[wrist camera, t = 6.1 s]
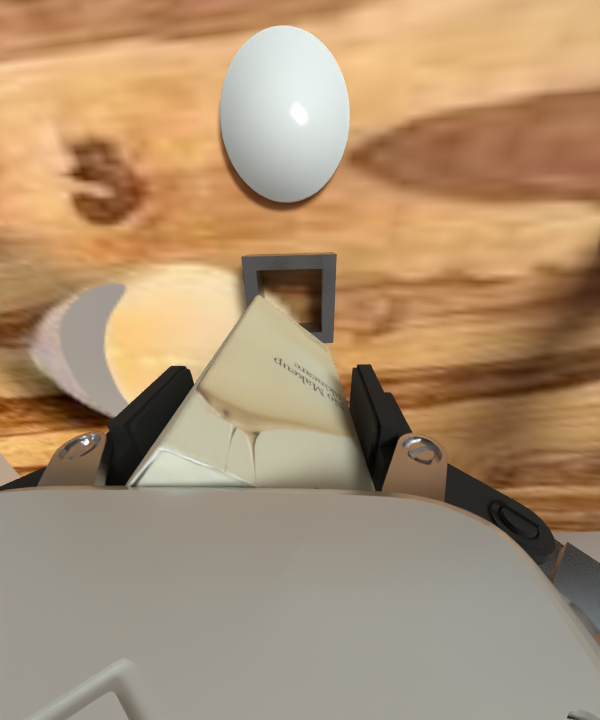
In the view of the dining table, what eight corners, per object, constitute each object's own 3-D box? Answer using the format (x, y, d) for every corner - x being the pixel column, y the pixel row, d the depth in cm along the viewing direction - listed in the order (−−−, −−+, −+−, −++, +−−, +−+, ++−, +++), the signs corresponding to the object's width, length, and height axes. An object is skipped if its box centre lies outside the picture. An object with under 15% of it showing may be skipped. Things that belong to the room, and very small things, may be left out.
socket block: (333, 252, 28) (336, 254, 25) (330, 332, 32) (333, 342, 29) (248, 254, 28) (241, 256, 25) (257, 333, 33) (252, 344, 29)
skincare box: (331, 347, 16) (414, 554, 6) (291, 389, 18) (299, 619, 7) (254, 290, 14) (157, 441, 4) (218, 343, 16) (70, 564, 5)
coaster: (352, 30, 20) (354, 20, 19) (344, 200, 25) (345, 199, 24) (212, 39, 20) (207, 30, 19) (233, 205, 26) (231, 203, 25)
